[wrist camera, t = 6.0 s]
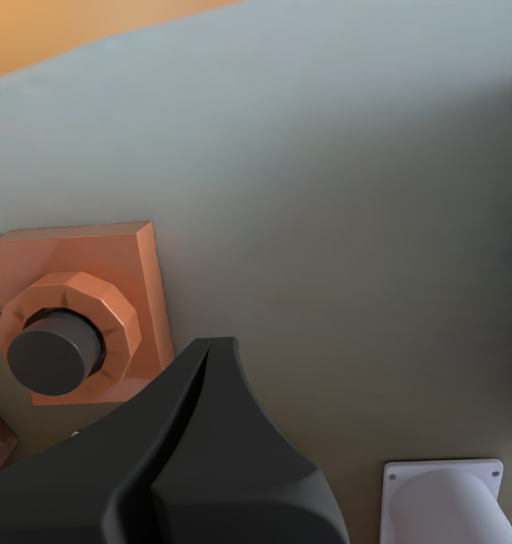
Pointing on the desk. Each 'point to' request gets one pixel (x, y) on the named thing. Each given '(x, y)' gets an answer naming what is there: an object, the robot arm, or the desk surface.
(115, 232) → the button housing
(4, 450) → the robot figurine
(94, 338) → the dark charcoal cylinder
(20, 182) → the desk surface
